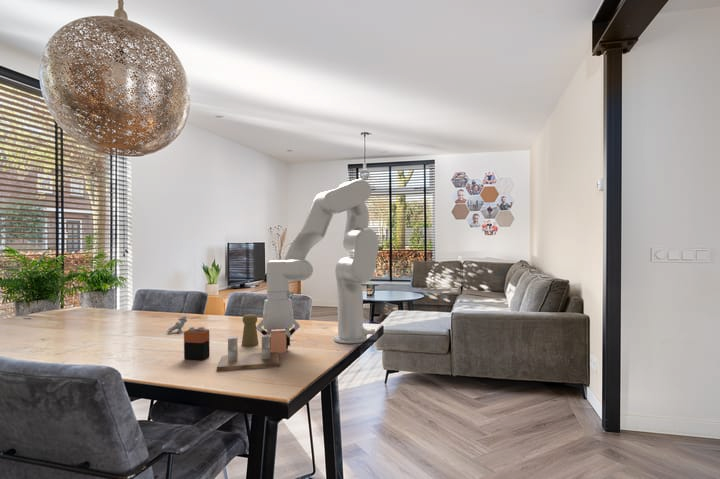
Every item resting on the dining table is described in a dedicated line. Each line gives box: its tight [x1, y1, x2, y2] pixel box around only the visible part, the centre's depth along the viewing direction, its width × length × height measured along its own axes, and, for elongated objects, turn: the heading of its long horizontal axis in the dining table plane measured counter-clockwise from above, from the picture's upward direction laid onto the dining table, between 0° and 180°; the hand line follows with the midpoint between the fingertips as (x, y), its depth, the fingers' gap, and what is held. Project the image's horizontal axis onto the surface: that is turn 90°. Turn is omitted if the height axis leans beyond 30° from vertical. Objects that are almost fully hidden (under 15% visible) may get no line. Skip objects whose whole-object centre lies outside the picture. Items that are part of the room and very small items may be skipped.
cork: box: [241, 313, 259, 348], centre depth 151 cm, size 6×6×11 cm
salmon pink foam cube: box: [270, 329, 287, 354], centre depth 142 cm, size 5×5×7 cm
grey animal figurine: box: [166, 316, 188, 334], centre depth 172 cm, size 10×6×9 cm
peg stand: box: [216, 334, 280, 372], centre depth 128 cm, size 18×12×8 cm, turn 102°
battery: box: [183, 326, 211, 361], centre depth 134 cm, size 4×7×10 cm, turn 79°
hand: (278, 347), depth 142 cm, fingers closed on salmon pink foam cube, 5 cm apart
